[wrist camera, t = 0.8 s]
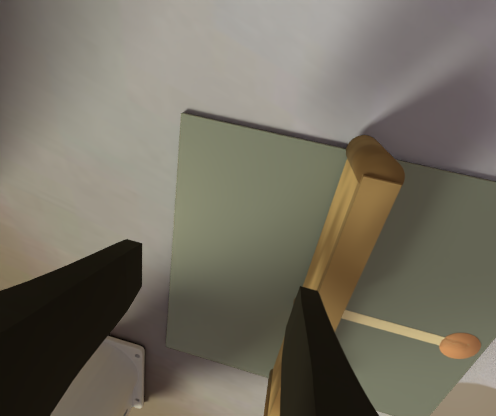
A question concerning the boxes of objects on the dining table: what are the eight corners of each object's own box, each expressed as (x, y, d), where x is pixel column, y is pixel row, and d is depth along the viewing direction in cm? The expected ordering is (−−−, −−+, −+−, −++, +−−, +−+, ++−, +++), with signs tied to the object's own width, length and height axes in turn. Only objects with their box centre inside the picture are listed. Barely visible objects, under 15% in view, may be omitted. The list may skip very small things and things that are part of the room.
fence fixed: (286, 383, 24) (280, 457, 19) (267, 377, 24) (257, 449, 20) (319, 298, 20) (322, 367, 15) (296, 291, 20) (292, 358, 15)
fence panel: (321, 297, 19) (324, 358, 15) (297, 291, 19) (294, 350, 15) (384, 138, 14) (414, 165, 10) (351, 131, 14) (368, 155, 10)
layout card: (420, 420, 23) (422, 425, 23) (167, 343, 25) (165, 347, 25) (599, 204, 14) (606, 207, 14) (183, 112, 16) (180, 113, 16)
